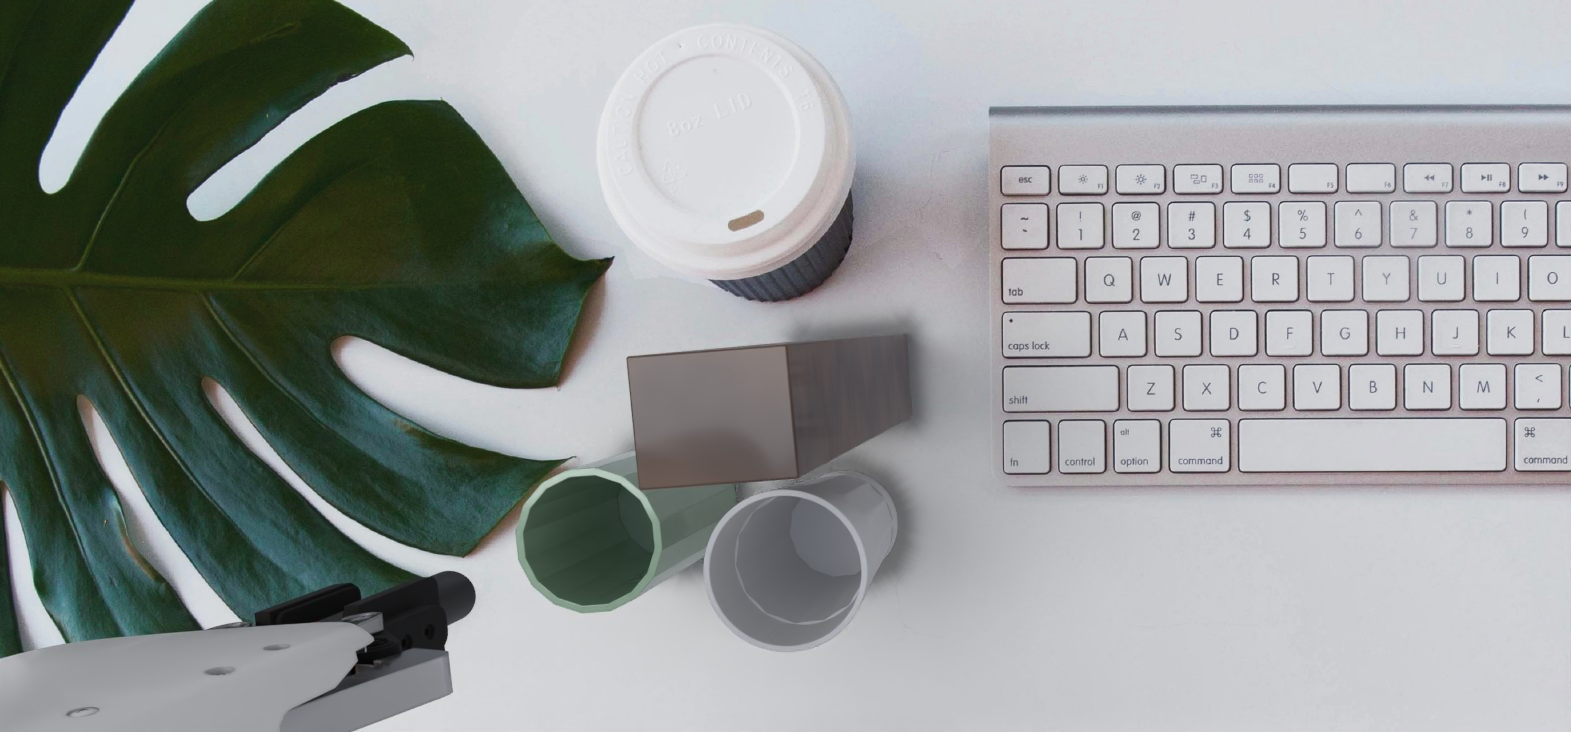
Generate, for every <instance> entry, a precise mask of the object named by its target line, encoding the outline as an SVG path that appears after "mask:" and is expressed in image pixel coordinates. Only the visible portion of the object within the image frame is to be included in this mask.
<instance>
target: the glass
mask: <svg viewBox="0 0 1571 732" xmlns="http://www.w3.org/2000/svg"><path fill="white" fill-rule="evenodd" d="M737 499H738V498H737V492H736V487H735V483H734V484H721V485H707V486H694V487H681V488H668V489H654V490H640V489H639V484H638V473H637V463H636V453H635V449H634V450H630V451H627V452H623V453H620V454H616V455H613V456H609V457H606V458H603V459H600V460H596V461H592V462H589V463H586V464H582V465H578V466H574V467H572V468H569V469H566V470H564V471H561V472H560V473H558V474H556V475H554V476H552V477H550V478H548V479H546V480H544V481H542V482H541V483H540V484H539V485H538V486H537V488H536V489H535V490H534V491H533V493H532V494H531V495H530V496H529V497H528V498H527V500H526V501H525V502H524V503H523V505H522V508H521V511H520V515H519V518H518V521H517V525H516V528H515V542H516V543H515V544H516V552H517V553H516V554H517V561H518V563H519V565H520V567H521V569H522V570H523V572H524V575H525V576H526V578H527V579H528V581H529V584H530V585H531V586H532V588H533V589H535V590H536V591H537V592H538V593H540V595H542V596H543V597H544V598H546V599H547V600H548V601H549V602H550V603H551V604H553V605H555V606H558V607H561V608H562V609H563V608H564V609H567V610H569V611H572V612H576V613H579V614H593V613H594V614H595V613H607V612H612V611H614V610H616V609H618V608H620V607H622V606H624V605H626V604H628V603H630V602H632V601H634V600H636V599H638V598H640V597H641V596H643V595H644V594H646V593H647V592H649V591H651V590H652V589H654V588H656V587H657V586H659V585H661V584H662V583H664V582H665V581H667V580H669V579H670V578H672V577H674V576H675V575H677V574H679V573H680V572H682V571H684V570H686V569H687V568H688V567H690V566H692V565H693V564H695V563H697V562H698V561H700V560H701V559H704V557H705V552H706V548H707V545H708V542H709V539H710V537H711V535H712V533H713V531H714V529H715V527H716V526H717V524H718V523H719V522H720V520H721V519H722V518H723V517H724V516H725V514H726V513H727V512H728V511H730V510H731V509H732V508H733V507H734V506H736V505H737V504H738V502H737V501H738V500H737Z"/></svg>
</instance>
